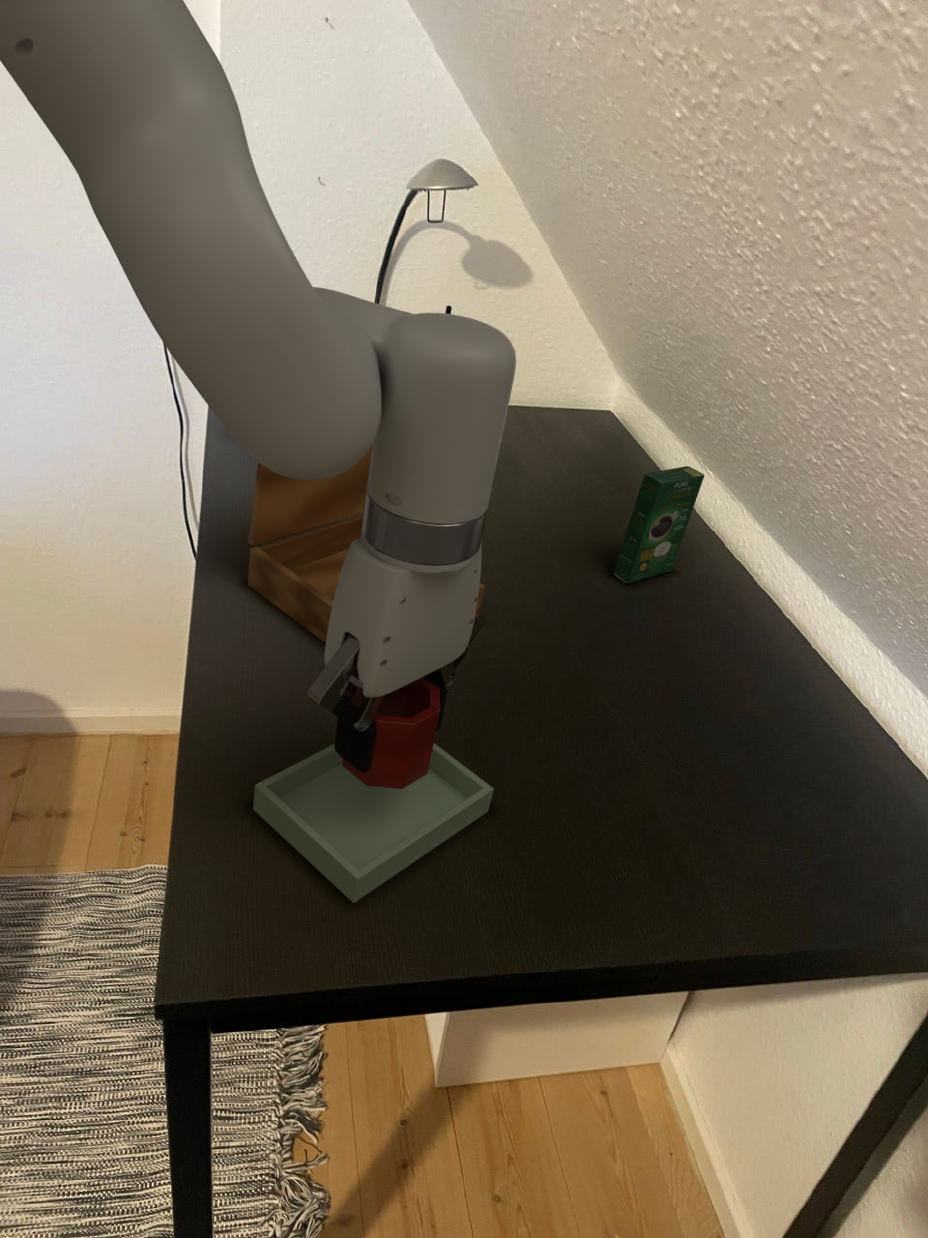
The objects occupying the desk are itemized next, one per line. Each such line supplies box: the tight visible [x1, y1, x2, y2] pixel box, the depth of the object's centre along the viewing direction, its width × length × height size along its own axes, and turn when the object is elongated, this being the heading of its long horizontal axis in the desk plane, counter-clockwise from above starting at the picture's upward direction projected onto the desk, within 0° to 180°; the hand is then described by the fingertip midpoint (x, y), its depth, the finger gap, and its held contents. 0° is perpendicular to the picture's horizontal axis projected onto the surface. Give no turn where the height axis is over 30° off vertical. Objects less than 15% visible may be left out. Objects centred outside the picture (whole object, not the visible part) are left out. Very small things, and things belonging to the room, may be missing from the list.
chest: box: [247, 513, 486, 644], centre depth 95 cm, size 18×16×4 cm
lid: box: [247, 445, 372, 547], centre depth 93 cm, size 18×16×5 cm
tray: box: [252, 743, 495, 904], centre depth 71 cm, size 14×11×2 cm
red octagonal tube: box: [342, 677, 440, 789], centre depth 68 cm, size 6×6×6 cm
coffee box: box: [612, 465, 705, 584], centre depth 109 cm, size 8×3×13 cm, turn 127°
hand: (388, 739), depth 68 cm, fingers closed on red octagonal tube, 6 cm apart
